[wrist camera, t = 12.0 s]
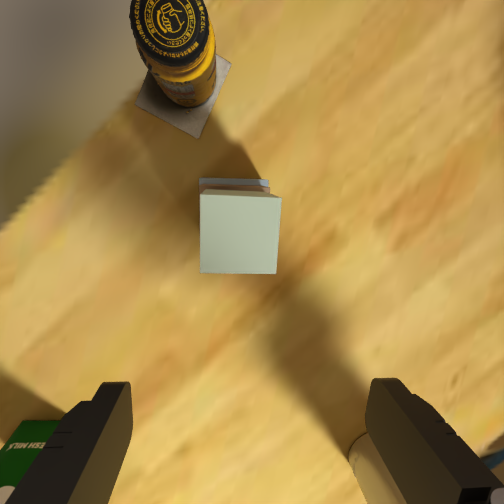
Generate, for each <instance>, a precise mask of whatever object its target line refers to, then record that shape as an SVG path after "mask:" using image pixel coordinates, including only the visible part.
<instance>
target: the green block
mask: <svg viewBox="0 0 504 504" xmlns="http://www.w3.org/2000/svg"><path fill="white" fill-rule="evenodd" d="M281 201H282V198H281V197H278V196H275V195H272V194H270V193H267V192H259V191H237V190H215V189H205V190H204V191H203V192H202V193H201V194H200V273H233V274H276V268H277V254H278V241H279V228H280V215H281Z"/></svg>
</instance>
